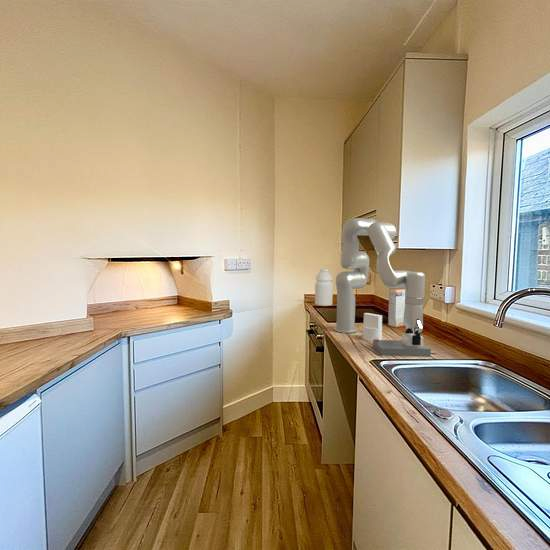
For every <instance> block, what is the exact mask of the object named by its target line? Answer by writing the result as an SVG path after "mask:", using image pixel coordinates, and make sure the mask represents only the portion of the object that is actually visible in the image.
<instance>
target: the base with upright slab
mask: <svg viewBox="0 0 550 550" xmlns="http://www.w3.org/2000/svg"><path fill="white" fill-rule="evenodd" d="M364 339H365V340H364ZM374 339H379V340H383V315H381V314H375V313H369V312H363V325H362V340H364V341H367V340H368V342H373V340H374Z"/></svg>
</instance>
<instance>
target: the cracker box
mask: <svg viewBox="0 0 550 550" xmlns="http://www.w3.org/2000/svg"><path fill="white" fill-rule="evenodd" d="M404 309H405V288H400V289H399V288H395V289H389V290H388V318H387V319H388V320H387V321H388V327H392V328H395V329H396V328H402V327H406V326H405V325H404V324H403V318H404Z"/></svg>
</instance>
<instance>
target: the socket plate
mask: <svg viewBox="0 0 550 550" xmlns="http://www.w3.org/2000/svg"><path fill="white" fill-rule="evenodd" d="M372 347H373V348H374V349H375V350H376V352H377V353H378V354H379V355H380V354H381V355H380V356H382V355H415V356H414V357H431V355H432V353H431V351H432V348H430V347H428V346H427V345H425V344H424V343H423V347H409V346H406V345H405V344H404V343H403V342H402V339H401V340H400V339H382V340H379V339H374V340H373V341H372Z"/></svg>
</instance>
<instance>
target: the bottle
mask: <svg viewBox="0 0 550 550" xmlns="http://www.w3.org/2000/svg"><path fill="white" fill-rule="evenodd" d="M329 270H330V269H329V268H320V270H319V271H320V272H318V273H317V275H316V276H315V277H316V278H315V280H316V282H315V283H314V305H316V306H319V307H320V306H322V307H326V306H327V307H328V306H333V300H334V299H333V297H334V296H333V295H334V294H333V292H334V283H333V279H334V278H333V276H332V274H331V273H330V271H329Z"/></svg>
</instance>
